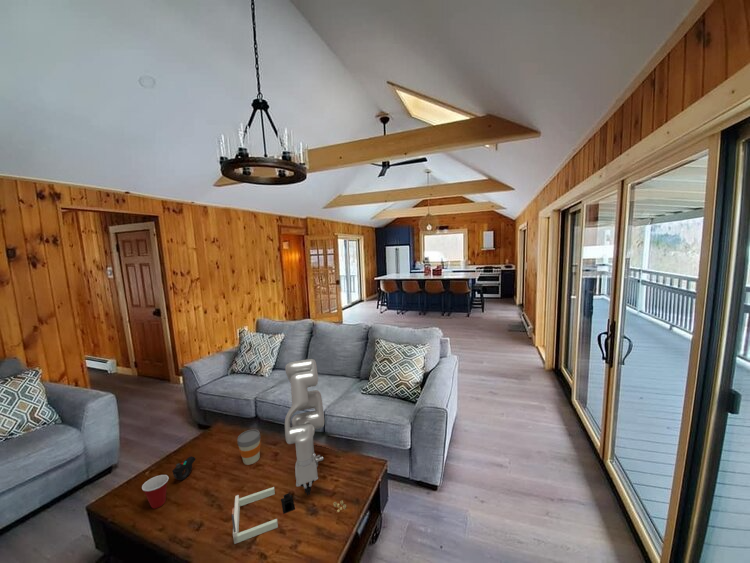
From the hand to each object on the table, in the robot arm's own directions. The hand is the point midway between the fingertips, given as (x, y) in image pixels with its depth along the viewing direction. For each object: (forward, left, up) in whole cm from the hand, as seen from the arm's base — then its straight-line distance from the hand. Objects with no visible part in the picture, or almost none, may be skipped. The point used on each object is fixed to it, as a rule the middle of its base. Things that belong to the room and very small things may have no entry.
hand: (308, 492), depth 149 cm
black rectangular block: (+10, 0, -3) cm, 10 cm away
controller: (+60, -44, -2) cm, 75 cm away
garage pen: (+24, 0, -2) cm, 24 cm away
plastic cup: (+69, -29, -2) cm, 75 cm away
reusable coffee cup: (+26, -42, -2) cm, 50 cm away
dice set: (-13, +12, -3) cm, 18 cm away
